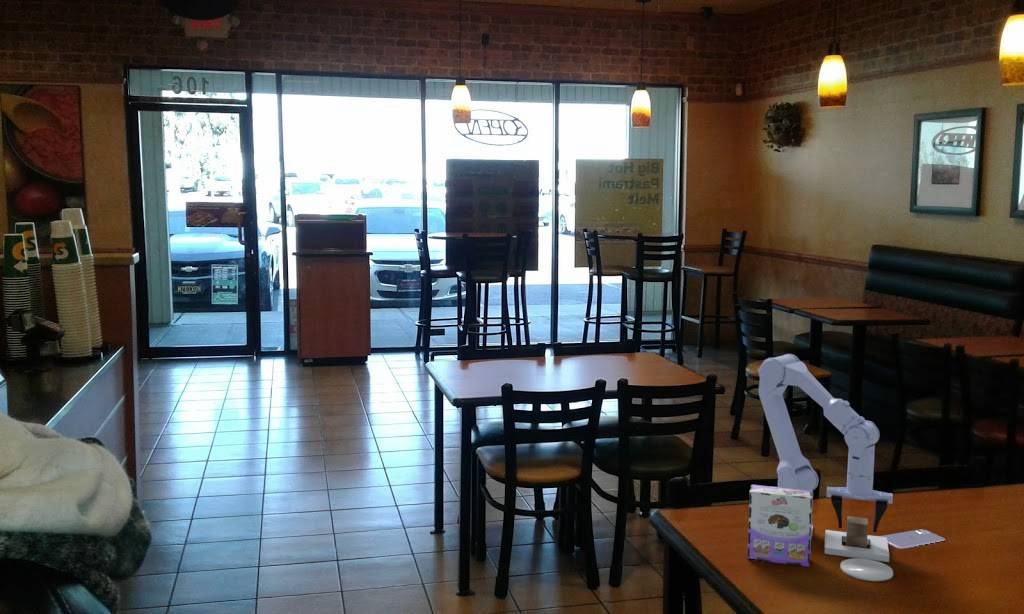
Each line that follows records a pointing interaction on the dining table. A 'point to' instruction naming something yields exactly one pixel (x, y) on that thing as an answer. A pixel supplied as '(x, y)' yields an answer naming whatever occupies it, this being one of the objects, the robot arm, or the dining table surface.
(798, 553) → the candy box
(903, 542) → the mobile phone
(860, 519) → the walnut block
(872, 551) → the pocket plate
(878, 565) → the ceramic coaster
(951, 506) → the dining table surface
